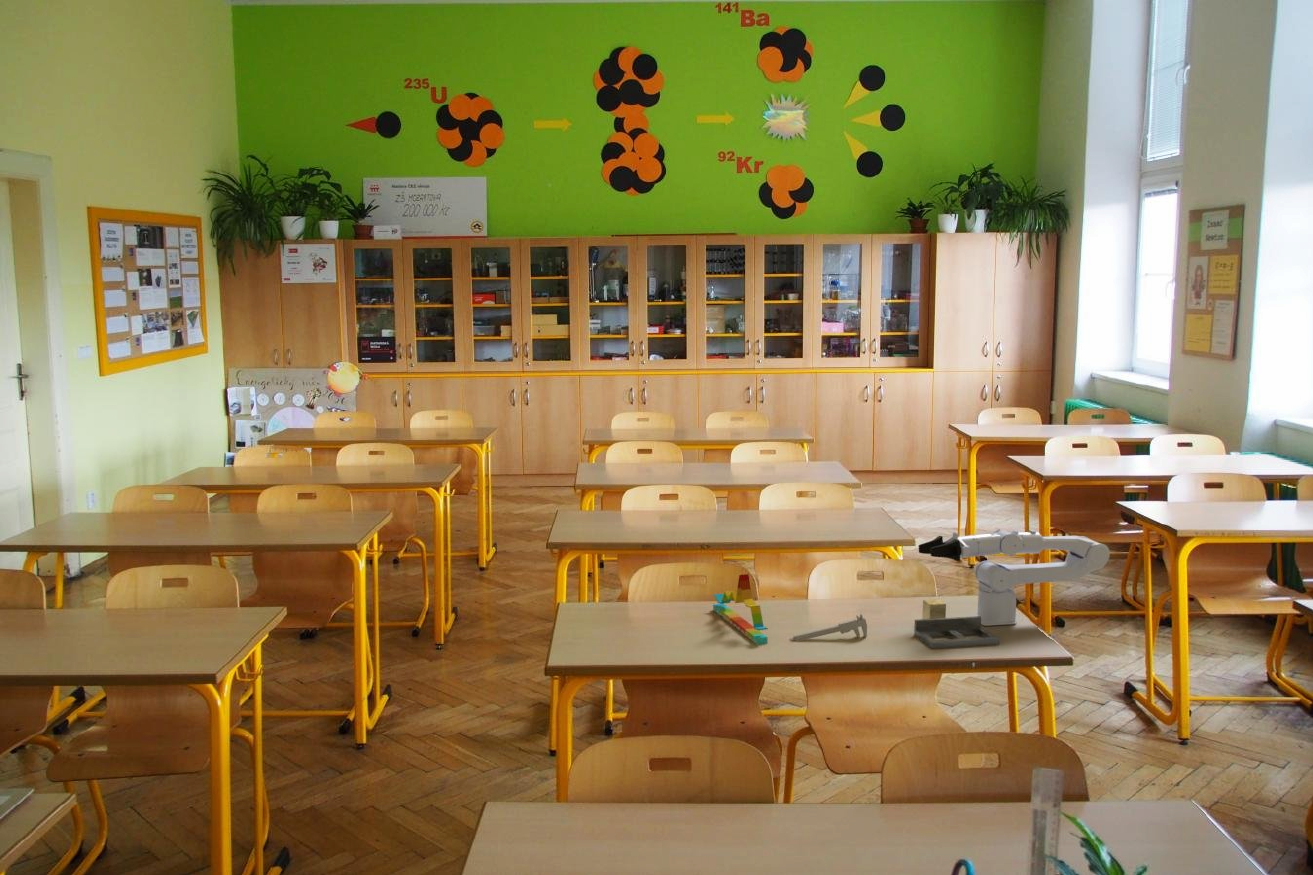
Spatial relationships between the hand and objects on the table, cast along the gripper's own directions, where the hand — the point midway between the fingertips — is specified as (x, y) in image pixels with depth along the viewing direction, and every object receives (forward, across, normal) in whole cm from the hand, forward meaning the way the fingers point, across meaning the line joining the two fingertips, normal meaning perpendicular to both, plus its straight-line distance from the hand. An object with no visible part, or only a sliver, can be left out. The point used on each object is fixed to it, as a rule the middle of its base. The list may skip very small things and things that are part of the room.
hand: (925, 550), depth 290 cm
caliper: (+29, +4, +20) cm, 36 cm away
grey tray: (-3, +10, +22) cm, 24 cm away
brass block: (-2, -4, +20) cm, 21 cm away
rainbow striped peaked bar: (+50, -10, +17) cm, 53 cm away
